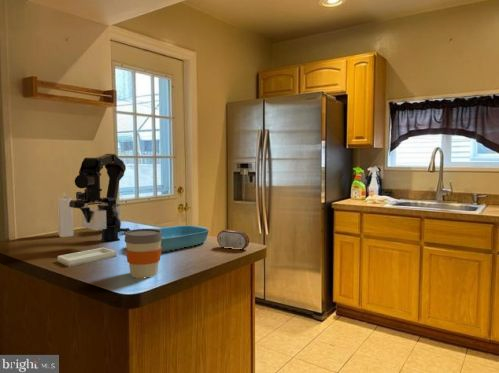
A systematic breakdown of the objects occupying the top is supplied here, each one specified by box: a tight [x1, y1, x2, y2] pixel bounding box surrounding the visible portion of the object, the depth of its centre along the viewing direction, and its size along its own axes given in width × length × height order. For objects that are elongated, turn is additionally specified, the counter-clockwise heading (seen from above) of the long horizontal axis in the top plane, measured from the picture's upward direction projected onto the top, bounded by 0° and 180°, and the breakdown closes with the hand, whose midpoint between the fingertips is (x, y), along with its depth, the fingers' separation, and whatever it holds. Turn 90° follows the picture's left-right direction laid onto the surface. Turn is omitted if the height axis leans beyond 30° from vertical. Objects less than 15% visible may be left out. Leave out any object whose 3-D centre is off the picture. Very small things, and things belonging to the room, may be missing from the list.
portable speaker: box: [217, 228, 250, 250], centre depth 169 cm, size 15×3×8 cm, turn 65°
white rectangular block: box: [81, 207, 107, 231], centre depth 167 cm, size 5×12×8 cm, turn 49°
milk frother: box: [101, 203, 131, 233], centre depth 202 cm, size 14×16×15 cm
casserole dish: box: [157, 224, 210, 253], centre depth 175 cm, size 37×22×7 cm, turn 137°
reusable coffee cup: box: [124, 228, 162, 279], centre depth 132 cm, size 13×13×15 cm
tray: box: [57, 247, 117, 268], centre depth 151 cm, size 19×10×2 cm, turn 139°
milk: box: [56, 192, 74, 238], centre depth 192 cm, size 6×6×22 cm
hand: (94, 221), depth 167 cm, fingers closed on white rectangular block, 5 cm apart
